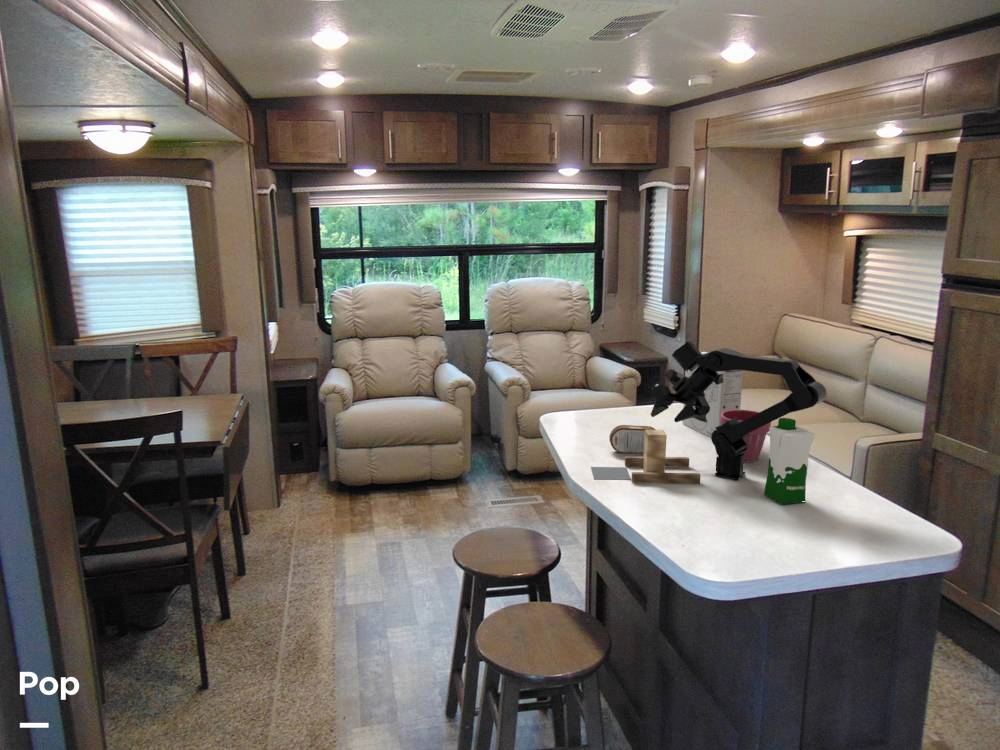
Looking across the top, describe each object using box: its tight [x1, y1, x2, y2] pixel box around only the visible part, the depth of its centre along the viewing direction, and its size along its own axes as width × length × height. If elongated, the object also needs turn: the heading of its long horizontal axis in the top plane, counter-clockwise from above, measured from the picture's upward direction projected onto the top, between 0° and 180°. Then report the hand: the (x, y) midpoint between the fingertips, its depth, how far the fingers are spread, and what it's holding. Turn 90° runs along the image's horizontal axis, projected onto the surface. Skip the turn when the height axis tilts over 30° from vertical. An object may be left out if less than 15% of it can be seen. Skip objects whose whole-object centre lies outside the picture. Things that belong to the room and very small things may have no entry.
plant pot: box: [720, 409, 772, 463], centre depth 217 cm, size 14×14×13 cm
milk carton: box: [763, 417, 816, 505], centre depth 184 cm, size 9×9×20 cm
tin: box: [609, 424, 657, 455], centre depth 221 cm, size 15×3×8 cm, turn 84°
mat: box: [590, 466, 632, 481], centre depth 204 cm, size 10×10×1 cm
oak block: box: [642, 429, 667, 473], centre depth 203 cm, size 5×5×12 cm
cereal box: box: [681, 351, 744, 438], centre depth 243 cm, size 22×8×25 cm, turn 17°
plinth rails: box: [624, 455, 702, 485], centre depth 204 cm, size 18×15×2 cm
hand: (663, 418), depth 214 cm, fingers open, 9 cm apart
